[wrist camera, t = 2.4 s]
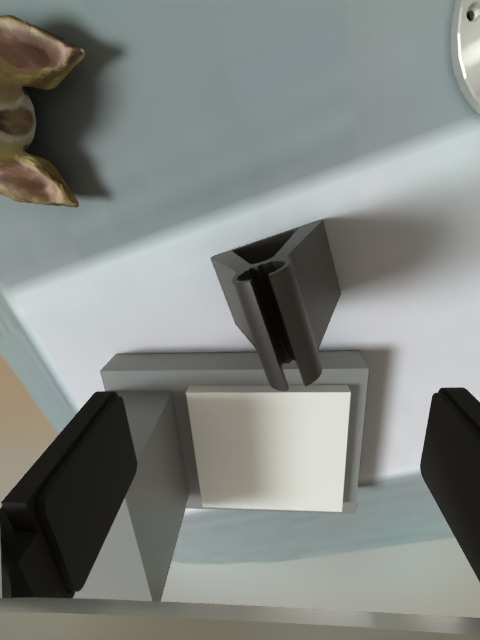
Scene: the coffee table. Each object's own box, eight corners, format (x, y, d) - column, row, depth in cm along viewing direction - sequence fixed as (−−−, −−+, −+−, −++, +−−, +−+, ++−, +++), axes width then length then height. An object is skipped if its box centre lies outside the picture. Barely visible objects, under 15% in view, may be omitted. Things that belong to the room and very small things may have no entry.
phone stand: (322, 219, 25) (364, 245, 14) (340, 292, 27) (389, 367, 15) (210, 256, 26) (167, 306, 15) (235, 322, 28) (212, 409, 17)
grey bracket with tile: (359, 350, 28) (424, 471, 16) (348, 487, 34) (389, 650, 22) (115, 354, 31) (15, 462, 19) (144, 482, 37) (82, 626, 25)
